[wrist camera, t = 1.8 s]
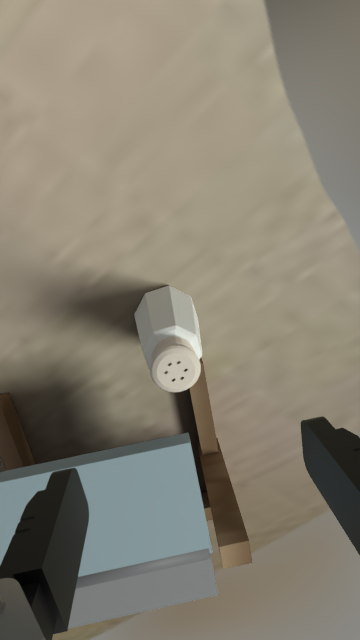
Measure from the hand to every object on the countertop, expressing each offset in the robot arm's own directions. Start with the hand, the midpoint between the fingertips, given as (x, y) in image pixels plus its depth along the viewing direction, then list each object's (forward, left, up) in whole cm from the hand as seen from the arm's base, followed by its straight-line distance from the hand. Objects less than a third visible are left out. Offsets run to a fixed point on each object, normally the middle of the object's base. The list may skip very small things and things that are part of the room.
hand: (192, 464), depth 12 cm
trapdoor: (-7, -11, -14) cm, 19 cm away
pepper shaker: (0, 0, -18) cm, 18 cm away
